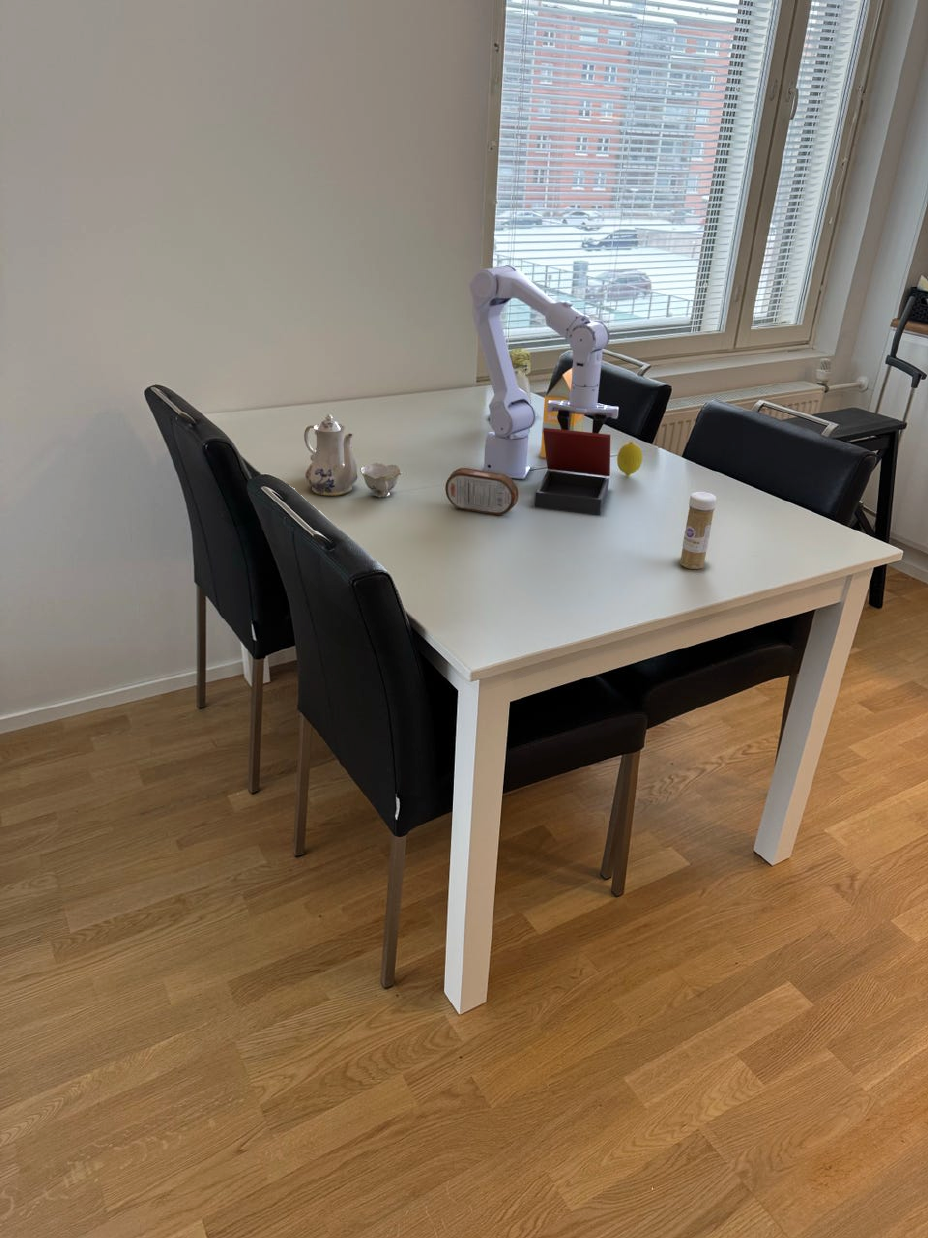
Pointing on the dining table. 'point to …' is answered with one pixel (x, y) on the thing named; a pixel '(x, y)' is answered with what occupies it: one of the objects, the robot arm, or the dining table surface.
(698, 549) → the sprinkles bottle
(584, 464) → the lid
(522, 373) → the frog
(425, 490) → the dining table surface
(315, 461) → the chinaware
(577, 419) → the orange juice
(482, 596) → the dining table surface
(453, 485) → the tin
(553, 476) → the dark grey open tray
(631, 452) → the lemon
